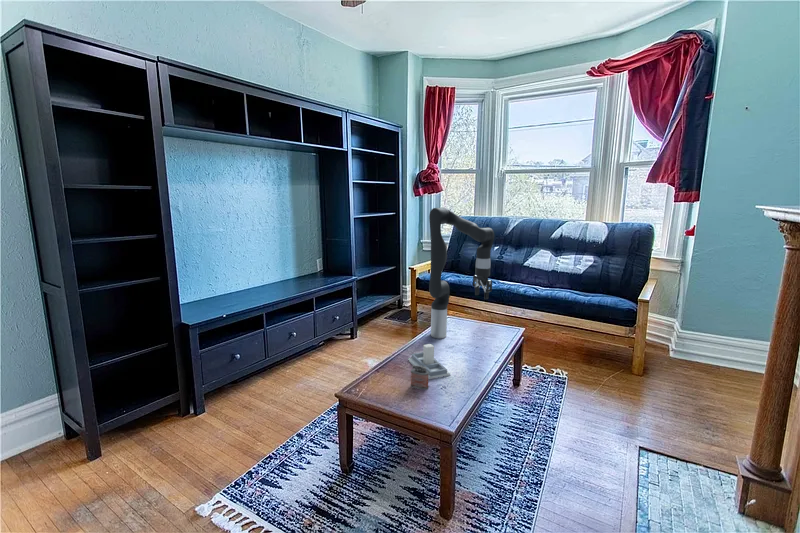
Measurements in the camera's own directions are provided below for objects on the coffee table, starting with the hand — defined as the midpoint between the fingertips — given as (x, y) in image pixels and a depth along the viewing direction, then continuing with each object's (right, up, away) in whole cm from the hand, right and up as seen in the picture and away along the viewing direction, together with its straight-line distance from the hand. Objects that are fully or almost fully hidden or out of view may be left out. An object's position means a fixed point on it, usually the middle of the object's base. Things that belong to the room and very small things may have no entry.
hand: (481, 297), depth 203 cm
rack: (-29, -33, -14) cm, 46 cm away
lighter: (-34, -37, -33) cm, 60 cm away
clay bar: (-29, -32, -14) cm, 45 cm away
